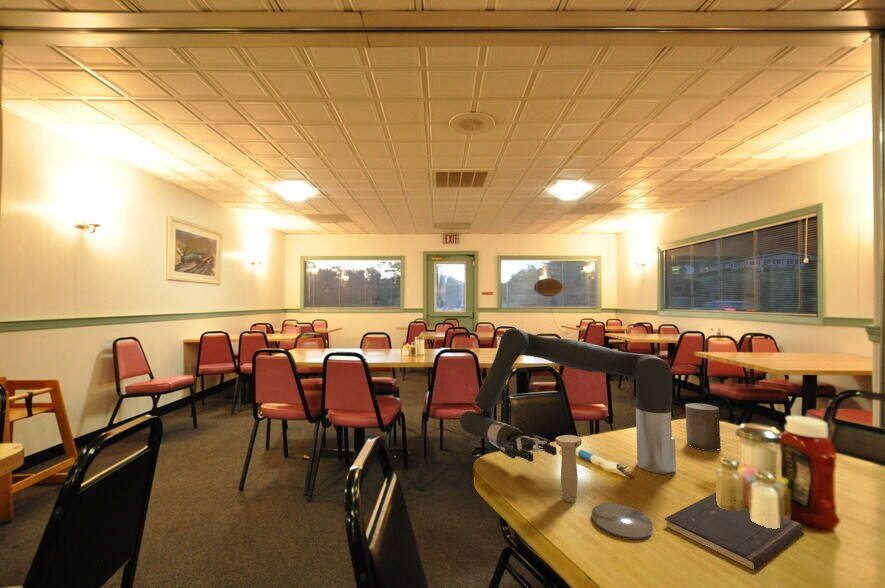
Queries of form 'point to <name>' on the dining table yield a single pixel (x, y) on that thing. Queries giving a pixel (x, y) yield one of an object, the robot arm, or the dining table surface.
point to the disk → (622, 521)
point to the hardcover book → (733, 532)
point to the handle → (569, 466)
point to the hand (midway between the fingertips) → (544, 454)
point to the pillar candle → (703, 426)
